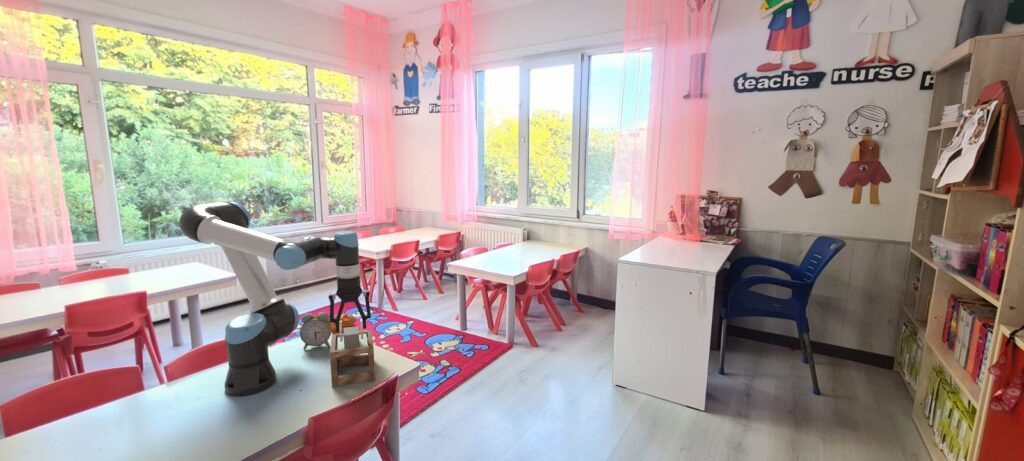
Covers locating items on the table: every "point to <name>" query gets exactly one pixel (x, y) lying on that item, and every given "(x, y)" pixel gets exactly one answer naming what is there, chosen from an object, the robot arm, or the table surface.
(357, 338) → the grey block
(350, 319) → the orange sculpture
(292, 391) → the table surface
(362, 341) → the hatch
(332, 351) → the frame
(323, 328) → the alarm clock
